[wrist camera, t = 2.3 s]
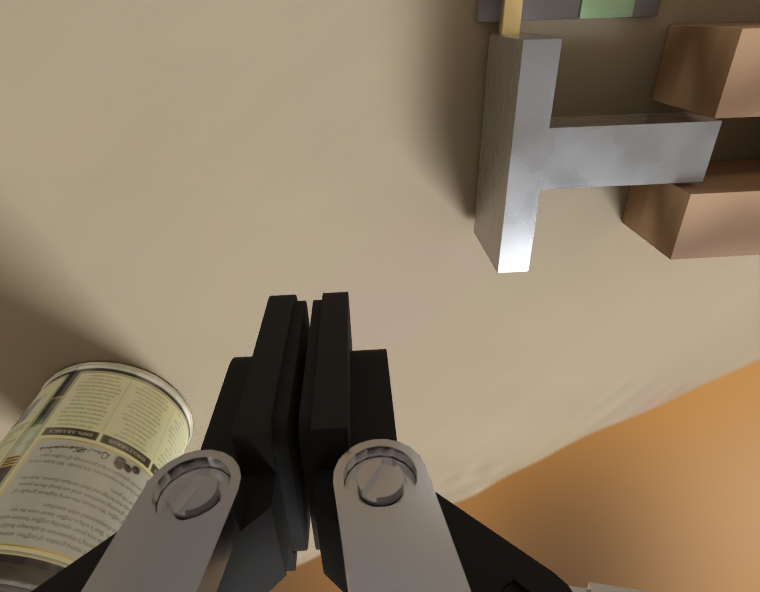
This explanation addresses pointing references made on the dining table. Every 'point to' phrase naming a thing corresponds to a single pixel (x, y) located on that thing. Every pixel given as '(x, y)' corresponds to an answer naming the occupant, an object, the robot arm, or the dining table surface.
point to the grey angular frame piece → (563, 143)
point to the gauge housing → (696, 94)
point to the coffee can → (81, 464)
